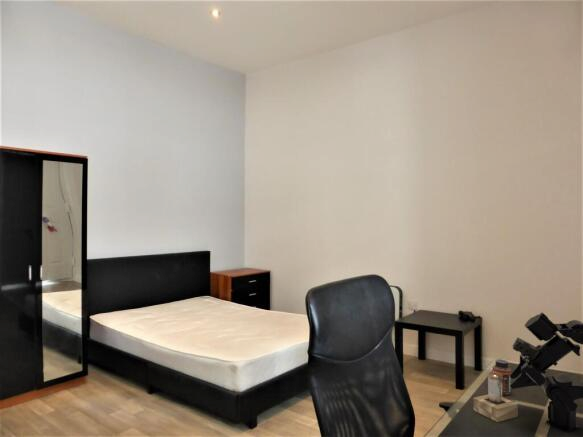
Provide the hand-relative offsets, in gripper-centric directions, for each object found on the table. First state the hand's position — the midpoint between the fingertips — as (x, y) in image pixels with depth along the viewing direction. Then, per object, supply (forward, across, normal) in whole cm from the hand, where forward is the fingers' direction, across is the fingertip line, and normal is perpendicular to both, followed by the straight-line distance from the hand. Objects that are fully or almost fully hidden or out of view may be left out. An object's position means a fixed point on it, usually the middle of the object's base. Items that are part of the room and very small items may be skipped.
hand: (510, 382), depth 131 cm
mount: (+11, 0, +4) cm, 11 cm away
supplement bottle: (+10, -20, +6) cm, 23 cm away
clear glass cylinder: (+11, 0, +4) cm, 12 cm away
